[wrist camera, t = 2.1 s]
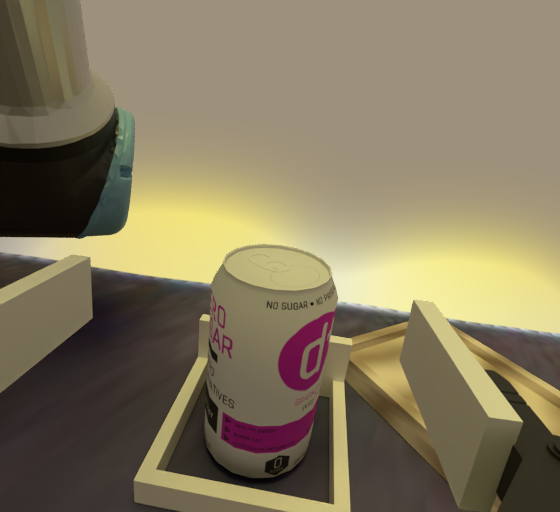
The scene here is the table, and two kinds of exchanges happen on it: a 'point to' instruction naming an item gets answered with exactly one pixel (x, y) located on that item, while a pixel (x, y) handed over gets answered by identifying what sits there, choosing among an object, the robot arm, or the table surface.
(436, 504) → the table surface
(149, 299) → the table surface
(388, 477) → the table surface
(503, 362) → the tray
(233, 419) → the supplement can
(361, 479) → the table surface
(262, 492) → the dock
